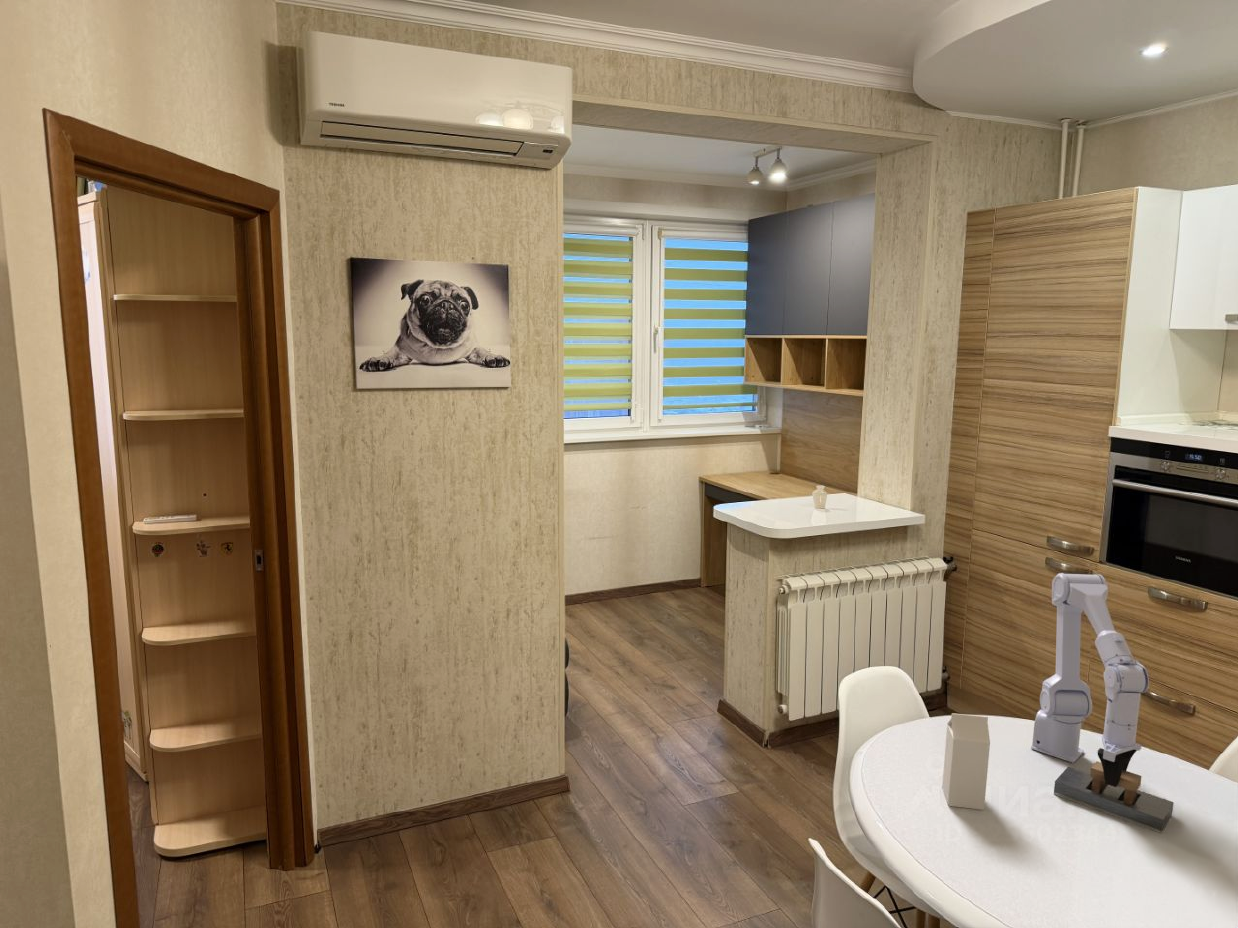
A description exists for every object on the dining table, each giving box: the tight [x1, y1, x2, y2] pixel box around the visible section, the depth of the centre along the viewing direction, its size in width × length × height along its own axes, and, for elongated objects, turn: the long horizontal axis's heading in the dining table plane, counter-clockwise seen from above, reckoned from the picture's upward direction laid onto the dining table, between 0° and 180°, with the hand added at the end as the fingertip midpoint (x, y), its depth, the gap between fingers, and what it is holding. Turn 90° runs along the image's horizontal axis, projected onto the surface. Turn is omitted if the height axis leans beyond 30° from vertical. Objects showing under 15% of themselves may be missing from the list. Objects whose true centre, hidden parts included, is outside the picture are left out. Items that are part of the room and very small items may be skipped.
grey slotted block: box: [1053, 766, 1175, 834], centre depth 174 cm, size 20×9×3 cm, turn 46°
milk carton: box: [941, 712, 991, 810], centre depth 174 cm, size 7×7×19 cm
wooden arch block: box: [1089, 761, 1142, 805], centre depth 174 cm, size 8×4×7 cm, turn 45°
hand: (1114, 780), depth 174 cm, fingers open, 4 cm apart
